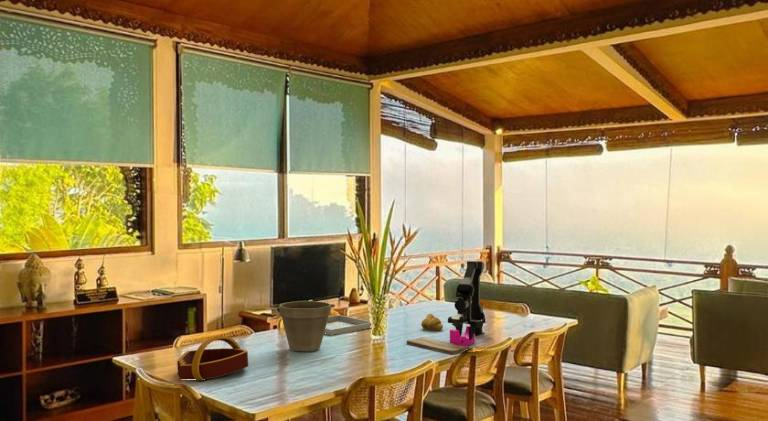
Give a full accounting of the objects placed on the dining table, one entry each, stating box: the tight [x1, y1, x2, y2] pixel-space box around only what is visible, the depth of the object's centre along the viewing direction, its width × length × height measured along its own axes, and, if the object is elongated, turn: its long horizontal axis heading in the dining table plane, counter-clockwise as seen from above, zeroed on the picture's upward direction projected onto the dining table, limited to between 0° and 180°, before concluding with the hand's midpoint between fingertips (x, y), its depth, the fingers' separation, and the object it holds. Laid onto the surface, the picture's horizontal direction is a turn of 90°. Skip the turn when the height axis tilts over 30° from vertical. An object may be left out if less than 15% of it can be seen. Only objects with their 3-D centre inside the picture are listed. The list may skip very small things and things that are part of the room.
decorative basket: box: [176, 335, 249, 381], centre depth 268 cm, size 34×29×15 cm
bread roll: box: [421, 313, 444, 331], centre depth 355 cm, size 13×10×8 cm
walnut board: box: [406, 336, 470, 355], centre depth 313 cm, size 12×30×2 cm, turn 43°
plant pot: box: [278, 300, 332, 352], centre depth 309 cm, size 25×25×22 cm
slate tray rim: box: [324, 314, 371, 336], centre depth 360 cm, size 31×31×3 cm
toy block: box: [449, 325, 476, 347], centre depth 320 cm, size 15×6×8 cm, turn 133°
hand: (465, 338), depth 320 cm, fingers closed on toy block, 6 cm apart
